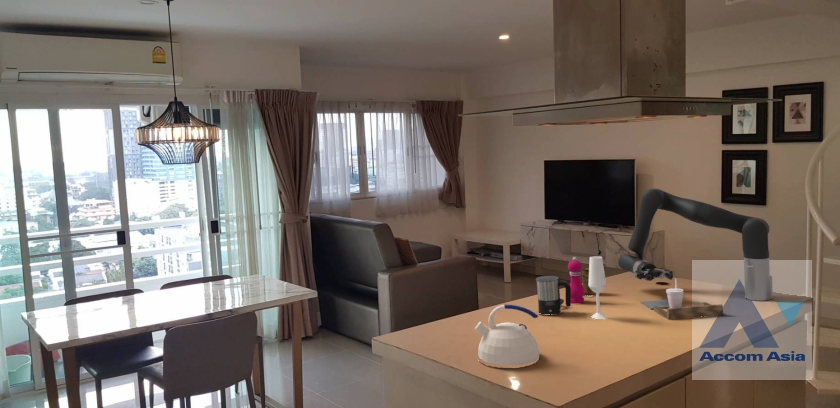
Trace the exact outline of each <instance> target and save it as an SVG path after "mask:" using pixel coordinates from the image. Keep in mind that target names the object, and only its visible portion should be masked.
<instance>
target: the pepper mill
mask: <svg viewBox="0 0 840 408" xmlns="http://www.w3.org/2000/svg"><path fill="white" fill-rule="evenodd" d="M567 264H568V265H567V269H568V270H569V275H570V283H569V285H570V287H571V304H573V303H581V304H583V302H584V303H585V298H584V297H585V296H584V294H585V290H584V287H583V284H582V280H581V276H582V270H583V264H582V262H581V261H579V260H578V259H577V257H576V256H573V257H572V260H571V261H569V262H568V263H567Z"/></svg>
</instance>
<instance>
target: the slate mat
mask: <svg viewBox="0 0 840 408" xmlns="http://www.w3.org/2000/svg"><path fill="white" fill-rule="evenodd" d="M640 304H641V305H643V306H645V307H646V308H648V309H650V310H654V306H657V307H659V308H661V309H663V310H666V309H667V308H669V302H668V299H660V300H659V299H657V300H645V301H640Z"/></svg>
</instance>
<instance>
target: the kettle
mask: <svg viewBox="0 0 840 408" xmlns="http://www.w3.org/2000/svg"><path fill="white" fill-rule="evenodd" d="M505 309H506V310H515V311H520V312H523V313H526V314H527V315H529V316H531V317H532V318H533V319H537V318H539V315H538V313H535V312H534V311H532V310H530V309H528V308H526V307H523V306H519V305H514V304H502V305H497V306H496V307H495V308H494V309H492V311H491V312H490V314H489V315H488V319H487V320H488V326H487V325H485V324H484V323H483V322H482V321H479V322H478V323H477V324H476V326H475V327H474V330H475V331H476V332H478V333H479V334H480V335H481V339H480V341H479V345H478V350H477V352H478V353H477V354H478V355H477V357H478V356H479V358H480V359H482V360H483V361H485V362H488V363H493V364H499V365H523V364H528V363H531V362H534V361H536V360H537V359H538V358H539V355H541V354H540V349H539V348H540V347H539V344H538V342H537V340H536V337H535V336H534V335H533V334H532V332H531V331H529V329H528V327H527V326H526V325H525V324H523V323H520V324H518V323H513V322H509V321H507V322H500V323H496V324H495V322H494V318H495V315H496V314H497V313H499V311H501V310H505Z"/></svg>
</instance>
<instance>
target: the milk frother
mask: <svg viewBox="0 0 840 408" xmlns="http://www.w3.org/2000/svg"><path fill="white" fill-rule="evenodd" d="M535 281H536V287H537V288H536V289H537V301H538V303H537V304H538V305H537V306H538V312H539V313H541V314H550V315H551V314H558V315H560V314H561V313H560V312H562V311H561V308H562V307H561V306H562V305H563V303H564V302H565V307H568V308H569V307H571V305H572V303H571V287H570V283H569V282H568V281H566V280H563V279H559V277H558V276H555V275H546V276H545V275H544V276H538V277H536V278H535ZM560 286H562V287H564V288H565V300H564V299H563V298H561V294H560ZM559 313H560V314H559Z"/></svg>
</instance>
